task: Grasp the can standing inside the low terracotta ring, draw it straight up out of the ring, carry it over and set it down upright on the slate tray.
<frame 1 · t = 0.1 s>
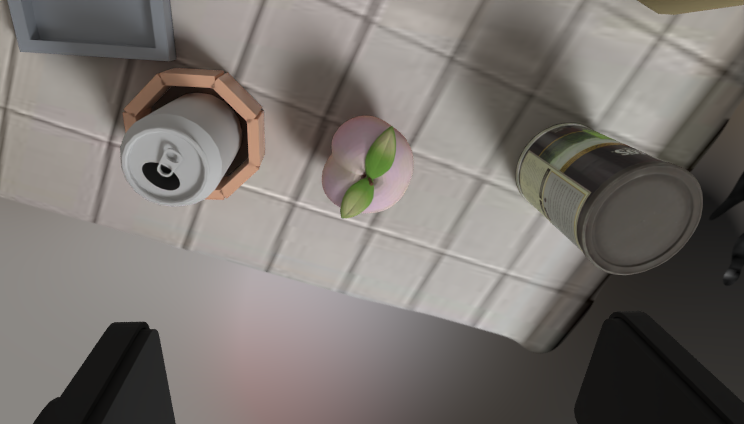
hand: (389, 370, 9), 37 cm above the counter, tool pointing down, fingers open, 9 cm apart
can: (205, 129, 43), resting in terracotta ring
decorative fruit: (364, 150, 45), on the counter
coffee can: (557, 167, 48), on the counter
terracotta ring: (205, 129, 42), on the counter
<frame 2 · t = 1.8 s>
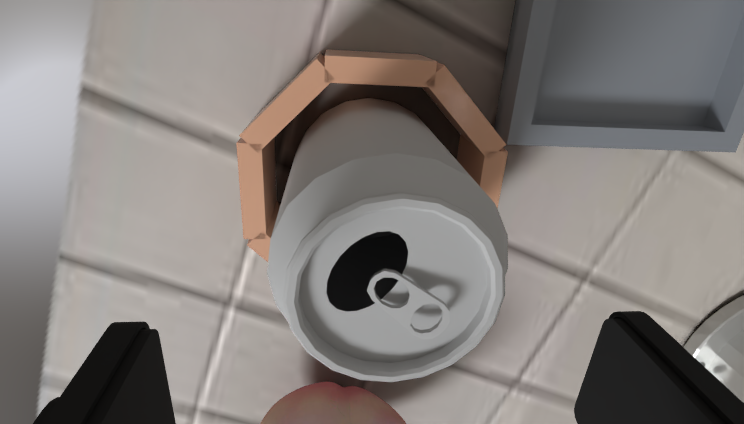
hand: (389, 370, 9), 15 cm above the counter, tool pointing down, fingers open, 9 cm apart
can: (366, 166, 23), resting in terracotta ring
slate tray: (634, 15, 21), on the counter
decorative fruit: (333, 391, 29), on the counter
terracotta ring: (367, 167, 23), on the counter
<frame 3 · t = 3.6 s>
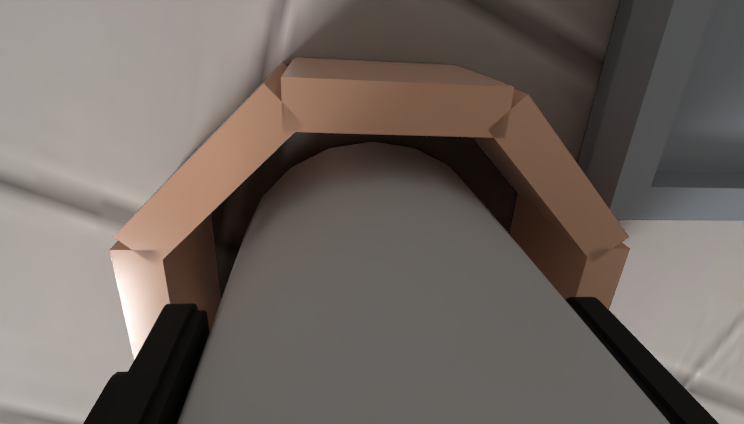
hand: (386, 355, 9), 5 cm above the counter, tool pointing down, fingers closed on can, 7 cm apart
can: (365, 244, 14), resting in terracotta ring, touching gripper
terracotta ring: (366, 247, 14), on the counter
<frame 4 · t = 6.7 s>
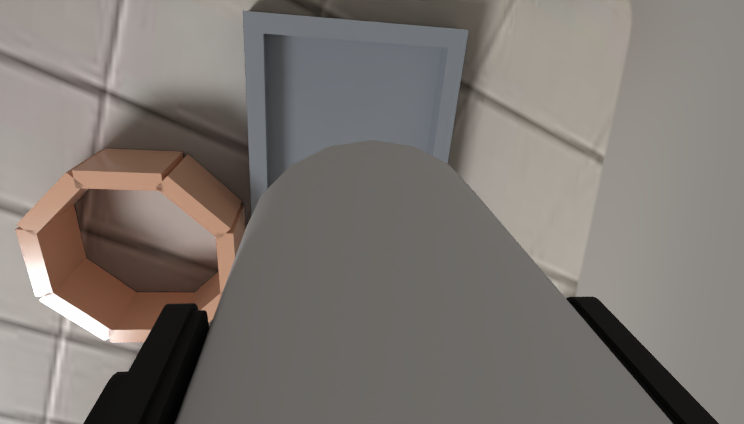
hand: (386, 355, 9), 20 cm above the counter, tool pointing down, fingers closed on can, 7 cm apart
can: (365, 242, 14), point 14 cm above the counter, touching gripper
slate tray: (350, 124, 27), on the counter
terracotta ring: (157, 233, 29), on the counter
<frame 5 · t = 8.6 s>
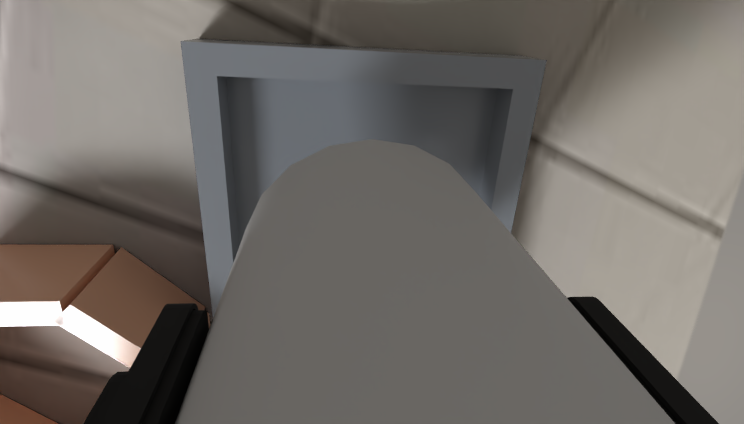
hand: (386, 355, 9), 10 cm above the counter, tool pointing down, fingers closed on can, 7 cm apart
can: (365, 242, 14), point 4 cm above the counter, touching gripper
slate tray: (360, 198, 18), on the counter
terracotta ring: (86, 352, 20), on the counter
when the fingers open (7 cm above the counter, at t = 10.2 s): can drops 1 cm, resting on slate tray.
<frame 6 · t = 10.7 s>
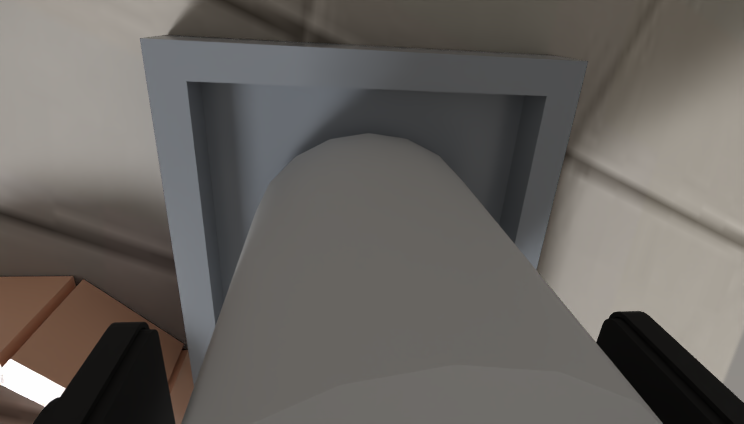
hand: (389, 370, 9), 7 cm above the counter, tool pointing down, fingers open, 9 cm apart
can: (363, 228, 15), resting on slate tray
slate tray: (361, 221, 16), on the counter
terracotta ring: (47, 396, 18), on the counter
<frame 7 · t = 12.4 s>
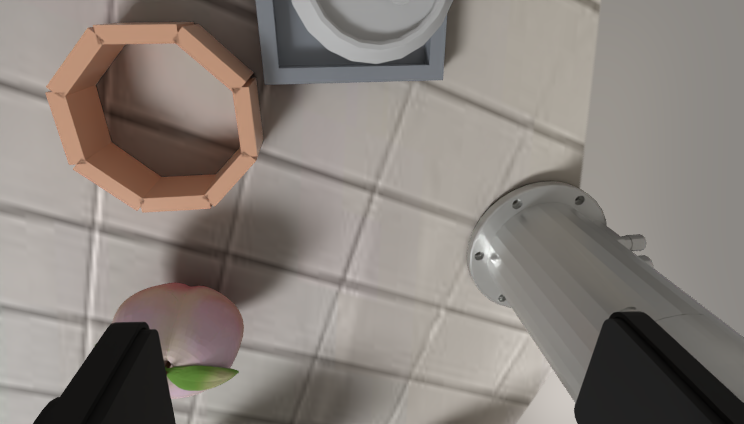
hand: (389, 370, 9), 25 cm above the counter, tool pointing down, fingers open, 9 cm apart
decorative fruit: (196, 297, 37), on the counter
terracotta ring: (175, 111, 30), on the counter
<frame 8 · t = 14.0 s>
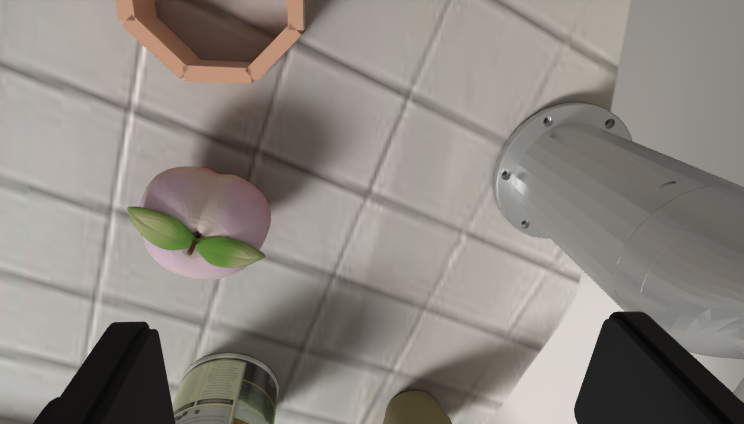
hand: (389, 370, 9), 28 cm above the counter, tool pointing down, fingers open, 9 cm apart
squeeze bottle: (410, 406, 50), on the counter
decorative fruit: (221, 197, 37), on the counter
coffee can: (230, 387, 46), on the counter
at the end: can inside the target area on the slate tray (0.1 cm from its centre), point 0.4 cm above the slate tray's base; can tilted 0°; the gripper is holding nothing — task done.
